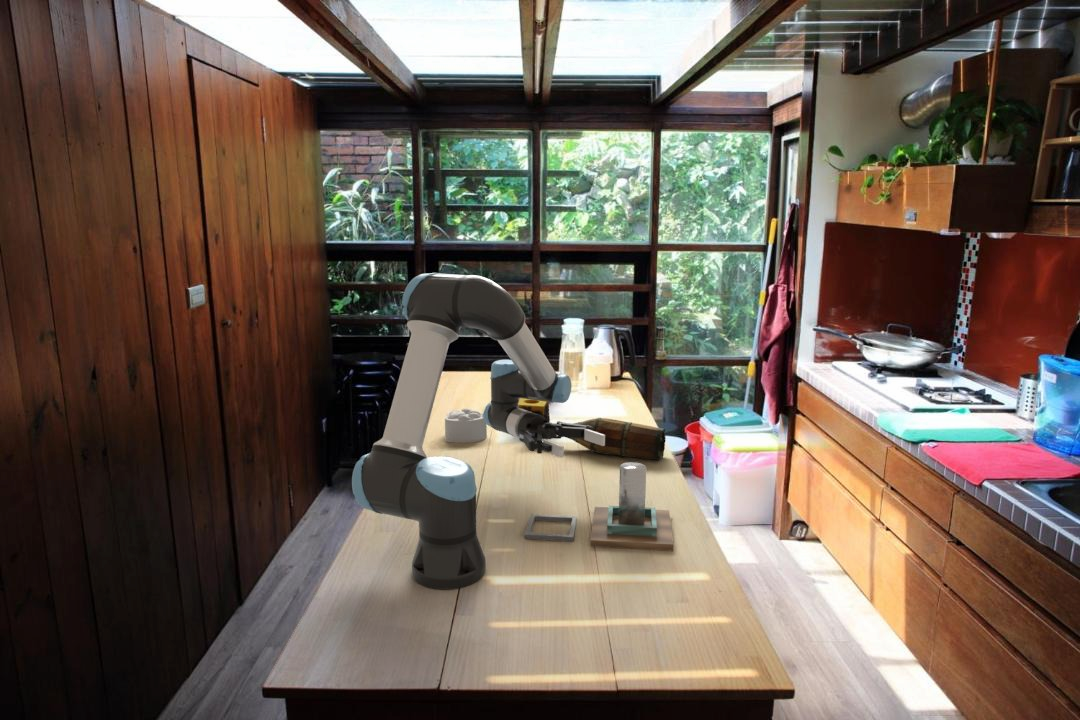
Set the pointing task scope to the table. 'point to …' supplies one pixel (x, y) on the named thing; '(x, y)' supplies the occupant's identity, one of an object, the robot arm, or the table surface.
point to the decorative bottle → (625, 438)
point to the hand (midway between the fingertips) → (583, 446)
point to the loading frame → (551, 536)
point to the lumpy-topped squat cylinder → (465, 426)
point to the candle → (535, 407)
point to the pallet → (632, 530)
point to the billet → (632, 494)
